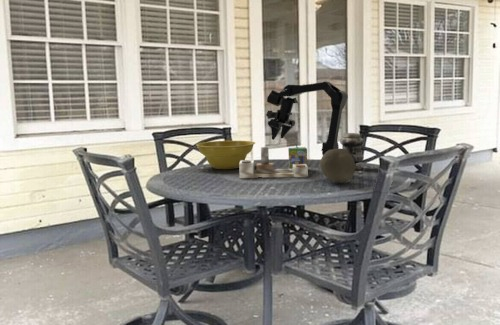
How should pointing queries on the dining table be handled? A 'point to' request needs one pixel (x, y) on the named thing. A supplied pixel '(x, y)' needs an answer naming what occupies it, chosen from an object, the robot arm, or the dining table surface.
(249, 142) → the planter bowl
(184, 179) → the dining table surface
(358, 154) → the apothecary jar
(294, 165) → the rail track
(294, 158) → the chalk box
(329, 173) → the cantaloupe
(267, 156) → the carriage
